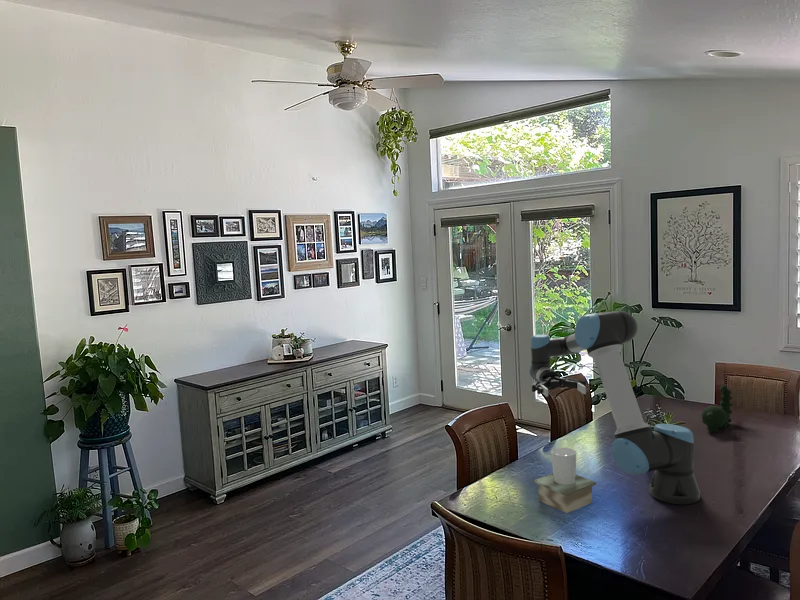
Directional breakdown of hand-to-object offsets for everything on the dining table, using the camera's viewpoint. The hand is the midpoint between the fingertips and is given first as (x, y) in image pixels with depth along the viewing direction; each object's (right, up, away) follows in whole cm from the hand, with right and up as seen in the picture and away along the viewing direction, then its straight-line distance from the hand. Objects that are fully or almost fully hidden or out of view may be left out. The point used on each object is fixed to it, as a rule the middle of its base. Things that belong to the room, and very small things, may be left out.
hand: (566, 391), depth 209 cm
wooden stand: (-5, -34, -16) cm, 38 cm away
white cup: (-5, -27, -16) cm, 32 cm away
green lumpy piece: (+80, -24, +48) cm, 96 cm away
